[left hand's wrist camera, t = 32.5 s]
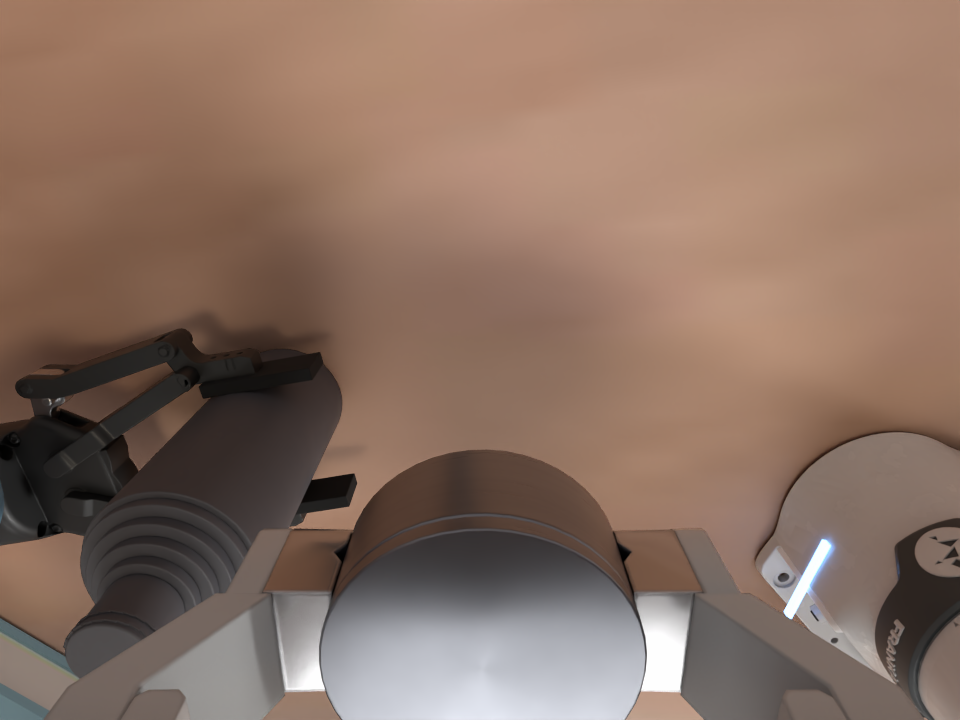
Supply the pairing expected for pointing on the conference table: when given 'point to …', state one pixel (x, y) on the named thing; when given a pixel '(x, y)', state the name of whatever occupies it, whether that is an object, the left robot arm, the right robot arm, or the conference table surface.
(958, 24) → the conference table surface
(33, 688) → the book
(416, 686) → the cap
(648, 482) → the conference table surface
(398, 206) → the conference table surface
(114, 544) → the bottle
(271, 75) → the conference table surface
